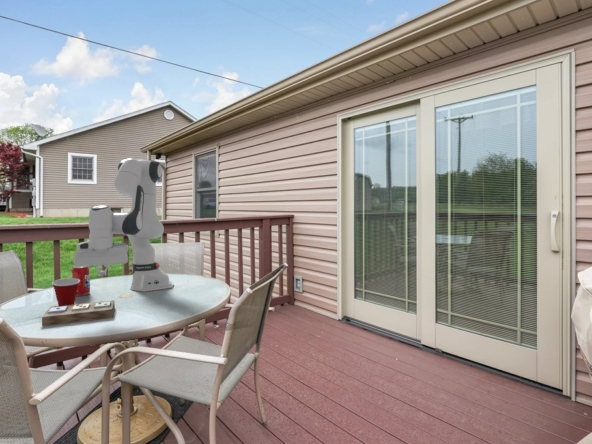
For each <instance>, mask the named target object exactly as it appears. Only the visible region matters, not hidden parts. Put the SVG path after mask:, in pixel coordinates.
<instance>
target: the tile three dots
mask: <svg viewBox="0 0 592 444" xmlns="http://www.w3.org/2000/svg"><path fill="white" fill-rule="evenodd" d="M81 304H82V305H74V307H73V308H72V311H77V310H86V309H89V307H90V304H83V303H81Z"/></svg>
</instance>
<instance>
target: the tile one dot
mask: <svg viewBox="0 0 592 444" xmlns="http://www.w3.org/2000/svg"><path fill="white" fill-rule="evenodd" d="M52 307H53V306H52ZM66 310H67V306H62V307H53V308H51V309H50V310H49V311H48V314H50V313H59V312H66Z"/></svg>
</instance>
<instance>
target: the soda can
mask: <svg viewBox="0 0 592 444" xmlns="http://www.w3.org/2000/svg"><path fill="white" fill-rule="evenodd" d="M90 273H91V272H90V266H83V267H75V266H74V265H73V267H72V268H71V278H73V279H79V280H80V282H79V284H78V287H77V293H76V297H82V296H86V295H88V294H90V292H91V276H90V275H91V274H90Z"/></svg>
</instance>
